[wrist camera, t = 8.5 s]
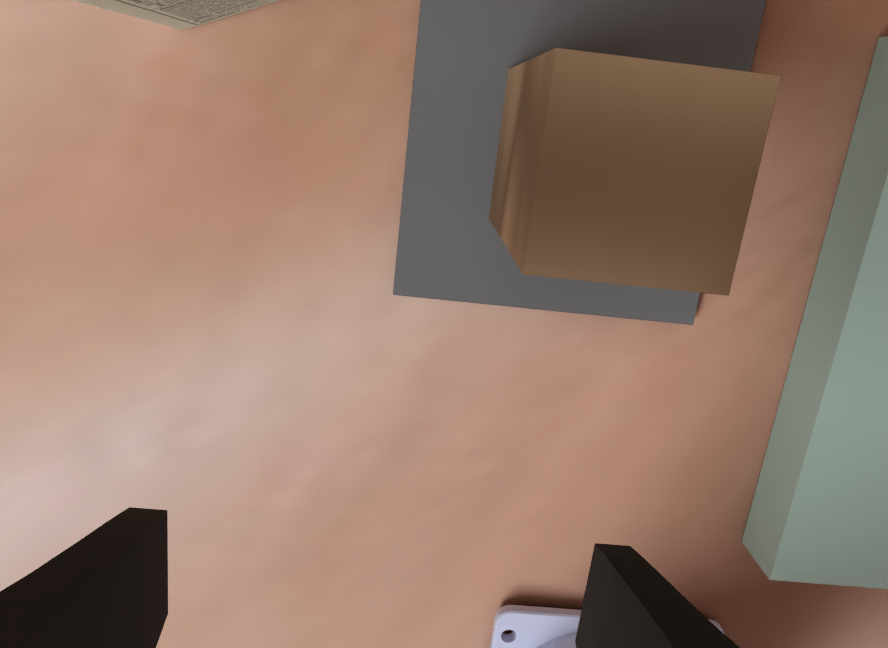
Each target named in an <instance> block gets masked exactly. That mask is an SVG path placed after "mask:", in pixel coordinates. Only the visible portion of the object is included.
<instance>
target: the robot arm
mask: <svg viewBox="0 0 888 648" xmlns="http://www.w3.org/2000/svg"><path fill="white" fill-rule="evenodd" d="M167 615H168V557H167V510H155V509H142V508H128V509H126V510H125V511H123V512H122V513H120V514H118V515H117V516H115V517H114V518H112V519H111V520H109V521H108V522H106V523H105V524H103V525H102V526H100V527H99V528H97V529H96V530H95V531H93V532H92V533H90V534H89V535H87V536H86V537H84V538H83V539H81V540H80V541H78V542H77V543H75V544H74V545H72V546H71V547H69V548H68V549H66V550H65V551H63V552H62V553H60V554H59V555H57V556H56V557H54V558H53V559H51V560H50V561H48V562H47V563H45V564H44V565H42V566H41V567H39V568H38V569H36V570H35V571H33V572H32V573H30V574H28V575H27V576H25V577H24V578H22V579H20V580H19V581H17V582H15V583H14V584H12V585H10V586H9V587H7V588H5V589H4V590H2V591H1V592H0V648H156V645H157V643H158V640H159V637H160V634H161V631H162V629H163V626H164V623H165V620H166V617H167ZM505 630H512V631H513V632H512V633H511V634H503V633H502V632H504V631H505ZM490 648H740V647H738V646H737V645H736V644H735V643H734V642H733V641H732V640H730V639H729V638H728V637H727V636H726V635H725V633H724V631H723V629H722V627H721V626H720V624H719V623H718V622H716V621H714V620H710V619H707V618H706V617H705V616H704V615H703V614H702V613H701V612H699V611H698V610H697V609H696V608H695V607H694V606H693V605H692V604H691V603H690V602H689V601H688V600H687V599H686V598H685V597H684V596H683V595H681V594H680V593H679V592H678V591H677V590H676V589H675V588H674V587H673V586H672V585H671V584H670V583H669V582H668V581H667V580H666V579H665V578H664V577H663V576H662V575H661V574H660V573H659V572H658V571H657V570H655V569H654V568H653V567H652V566H651V565H650V564H649V563H648V562H647V561H646V560H645V559H644V558H643V557H642V556H641V555H640V554H638V553H637V552H636V551H635V550H634V549H633V548H632V547H630V546H622V545H609V544H596V543H595V546H594V551H593V556H592V561H591V566H590V571H589V576H588V581H587V585H586V590H585V595H584V600H583V605H582V610H575V609H562V608H549V607H535V606H522V605H505V606H503V607H501V608H500V609H499V610H498V611H497V612H496V615H495V619H494V626H493V632H492V638H491V644H490Z"/></svg>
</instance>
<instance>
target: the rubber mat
mask: <svg viewBox="0 0 888 648" xmlns="http://www.w3.org/2000/svg"><path fill="white" fill-rule="evenodd" d="M765 3H766V0H421V4H420V15H419V25H418V36H417V46H416V57H415V68H414V78H413V89H412V99H411V110H410V121H409V131H408V142H407V152H406V163H405V174H404V184H403V195H402V205H401V216H400V227H399V237H398V248H397V258H396V269H395V280H394V290H393V295H401V296H410V297H420V298H430V299H440V300H450V301H460V302H470V303H480V304H490V305H500V306H510V307H520V308H529V309H539V310H549V311H559V312H569V313H579V314H589V315H599V316H609V317H619V318H629V319H639V320H648V321H658V322H668V323H678V324H688V325H693V323H694V318H695V314H696V309H697V305H698V301H699V296H700V293H699V292H689V291H679V290H670V289H660V288H651V287H641V286H631V285H622V284H612V283H602V282H593V281H583V280H574V279H564V278H554V277H545V276H535V275H525V274H522V272H521V271H520V269H519V267H518V266H517V264H516V262H515V261H514V259H513V258H512V256H511V254H510V253H509V251H508V249H507V248H506V246H505V244H504V243H503V241H502V239H501V238H500V236H499V234H498V233H497V231H496V230H495V228H494V226H493V225H492V223H491V221H490V220H489V212H490V205H491V197H492V189H493V182H494V174H495V166H496V159H497V151H498V144H499V136H500V128H501V121H502V113H503V105H504V98H505V90H506V83H507V75H508V69H510V68H512V67H515V66H517V65H519V64H521V63H524V62H526V61H528V60H530V59H532V58H535V57H537V56H539V55H541V54H544V53H546V52H548V51H550V50H553V49H555V48H562V49H570V50H578V51H586V52H594V53H602V54H610V55H618V56H626V57H634V58H642V59H650V60H658V61H666V62H674V63H682V64H690V65H698V66H706V67H714V68H722V69H730V70H738V71H746V72H750V70H751V65H752V61H753V57H754V52H755V48H756V43H757V39H758V34H759V30H760V25H761V21H762V17H763V12H764V8H765Z"/></svg>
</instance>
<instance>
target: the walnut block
mask: <svg viewBox="0 0 888 648" xmlns="http://www.w3.org/2000/svg"><path fill="white" fill-rule="evenodd" d="M780 77H781V76H778V75H770V74H762V73H754V72H746V71H738V70H730V69H722V68H714V67H706V66H698V65H690V64H682V63H674V62H666V61H658V60H650V59H642V58H634V57H626V56H618V55H610V54H602V53H594V52H586V51H578V50H570V49H562V48H555V49H553V50H550V51H548V52H546V53H544V54H541V55H539V56H537V57H535V58H532V59H530V60H528V61H526V62H524V63H521V64H519V65H517V66H515V67H512V68H510V69H508V75H507V83H506V90H505V98H504V105H503V113H502V121H501V128H500V136H499V144H498V151H497V159H496V166H495V174H494V182H493V189H492V197H491V205H490V212H489V220H490V221H491V223H492V225H493V226H494V228H495V230H496V231H497V233H498V234H499V236H500V238H501V239H502V241H503V243H504V244H505V246H506V248H507V249H508V251H509V253H510V254H511V256H512V258H513V259H514V261H515V262H516V264H517V266H518V267H519V269H520V271H521V272H522V274H525V275H535V276H545V277H554V278H564V279H574V280H583V281H593V282H602V283H612V284H622V285H631V286H641V287H651V288H660V289H670V290H679V291H689V292H699V293H708V294H718V295H728V296H729V292H730V287H731V283H732V279H733V275H734V271H735V266H736V262H737V258H738V254H739V250H740V245H741V241H742V237H743V233H744V229H745V224H746V220H747V216H748V212H749V208H750V203H751V199H752V195H753V191H754V187H755V182H756V178H757V174H758V170H759V166H760V161H761V157H762V153H763V149H764V145H765V140H766V136H767V132H768V128H769V124H770V119H771V115H772V111H773V107H774V103H775V98H776V94H777V90H778V86H779V82H780Z"/></svg>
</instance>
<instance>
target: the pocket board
mask: <svg viewBox="0 0 888 648" xmlns="http://www.w3.org/2000/svg"><path fill="white" fill-rule="evenodd" d="M742 543H743V545H744V546H745V547H746V549H747V550H748V551H749V553H750V554H751V556H752V557H753V558H754V560H755V561H756V562H757V564H758V565H759V566H760V568H761V569H762V570H763V572H764V573H765V575H766V576H767V577H768V579H769V580H777V581H790V582H802V583H815V584H828V585H841V586H853V587H866V588H879V589H888V36H884V37H879V39H878V42H877V46H876V50H875V53H874V57H873V61H872V64H871V68H870V72H869V75H868V79H867V83H866V86H865V90H864V94H863V97H862V101H861V105H860V108H859V112H858V116H857V119H856V123H855V127H854V130H853V134H852V138H851V141H850V145H849V149H848V152H847V156H846V160H845V163H844V167H843V171H842V175H841V178H840V182H839V186H838V189H837V193H836V197H835V200H834V204H833V208H832V211H831V215H830V219H829V222H828V226H827V230H826V233H825V237H824V241H823V244H822V248H821V252H820V255H819V259H818V263H817V266H816V270H815V274H814V277H813V281H812V285H811V288H810V292H809V296H808V300H807V303H806V307H805V311H804V314H803V318H802V322H801V325H800V329H799V333H798V336H797V340H796V344H795V347H794V351H793V355H792V358H791V362H790V366H789V369H788V373H787V377H786V380H785V384H784V388H783V391H782V395H781V399H780V402H779V406H778V410H777V413H776V417H775V421H774V425H773V428H772V432H771V436H770V439H769V443H768V447H767V450H766V454H765V458H764V461H763V465H762V469H761V472H760V476H759V480H758V483H757V487H756V491H755V494H754V498H753V502H752V505H751V509H750V513H749V516H748V520H747V524H746V527H745V531H744V535H743V538H742Z"/></svg>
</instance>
